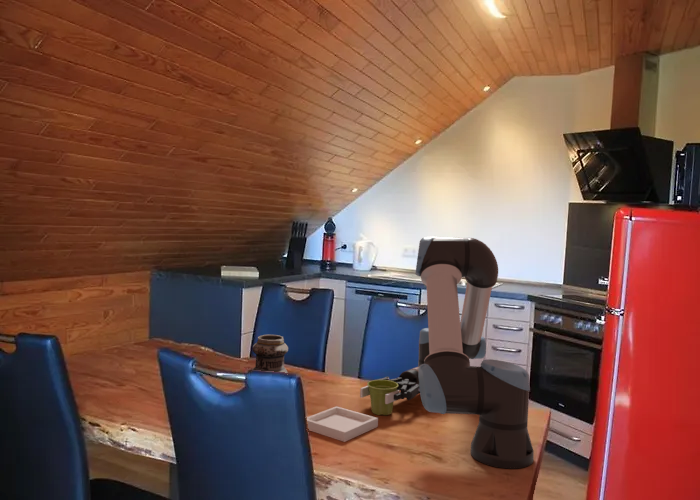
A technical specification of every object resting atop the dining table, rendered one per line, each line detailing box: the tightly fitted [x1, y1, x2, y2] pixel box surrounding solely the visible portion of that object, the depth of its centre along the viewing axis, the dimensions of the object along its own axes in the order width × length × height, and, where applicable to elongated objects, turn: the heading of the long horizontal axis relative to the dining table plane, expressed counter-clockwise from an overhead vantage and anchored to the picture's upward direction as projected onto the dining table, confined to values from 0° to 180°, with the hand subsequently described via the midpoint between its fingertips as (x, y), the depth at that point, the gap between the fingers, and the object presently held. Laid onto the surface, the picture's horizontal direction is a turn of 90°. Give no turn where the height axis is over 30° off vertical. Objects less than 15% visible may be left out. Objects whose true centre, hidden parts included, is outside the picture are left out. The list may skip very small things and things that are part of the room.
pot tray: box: [306, 405, 379, 443], centre depth 161 cm, size 15×15×2 cm
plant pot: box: [366, 379, 398, 416], centre depth 175 cm, size 9×9×9 cm
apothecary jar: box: [252, 334, 289, 373], centre depth 194 cm, size 12×12×18 cm
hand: (373, 396), depth 171 cm, fingers closed on plant pot, 8 cm apart
